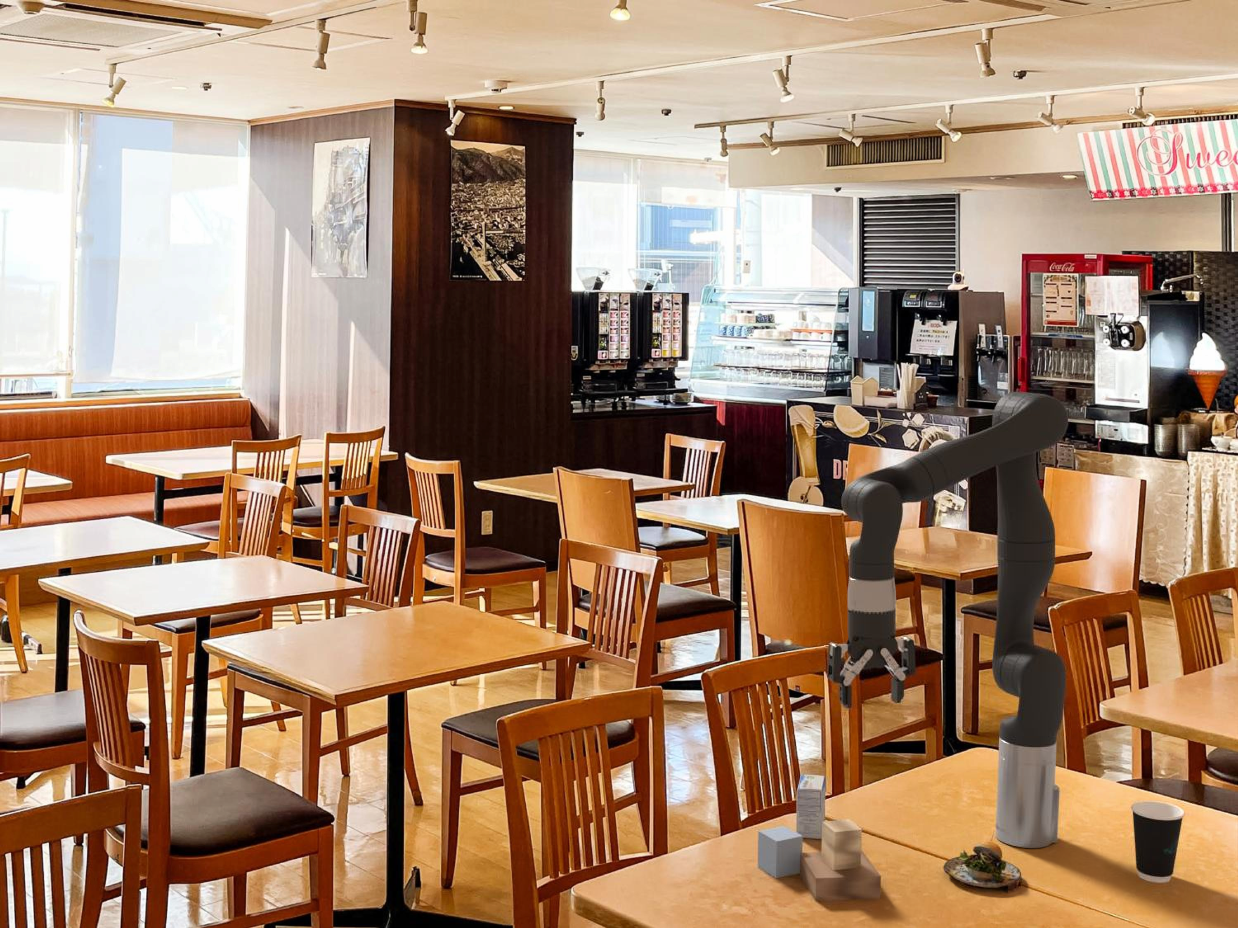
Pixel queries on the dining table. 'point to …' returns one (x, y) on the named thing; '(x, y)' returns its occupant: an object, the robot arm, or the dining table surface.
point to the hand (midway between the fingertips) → (871, 704)
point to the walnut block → (839, 879)
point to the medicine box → (810, 806)
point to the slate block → (779, 851)
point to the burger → (984, 868)
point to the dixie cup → (1156, 839)
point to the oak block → (841, 844)
